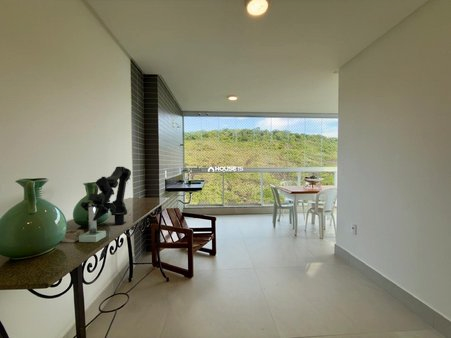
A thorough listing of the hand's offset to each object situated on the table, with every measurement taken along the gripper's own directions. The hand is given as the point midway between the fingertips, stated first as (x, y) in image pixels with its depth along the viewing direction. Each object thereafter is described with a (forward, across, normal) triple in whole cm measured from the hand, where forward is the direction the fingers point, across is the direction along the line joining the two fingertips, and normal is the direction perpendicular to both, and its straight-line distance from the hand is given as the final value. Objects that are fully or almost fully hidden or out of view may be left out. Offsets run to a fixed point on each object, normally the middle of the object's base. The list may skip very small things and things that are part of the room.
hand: (90, 220), depth 117 cm
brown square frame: (+8, -11, +6) cm, 15 cm away
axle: (+4, 0, +6) cm, 7 cm away
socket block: (+6, 0, +8) cm, 10 cm away
